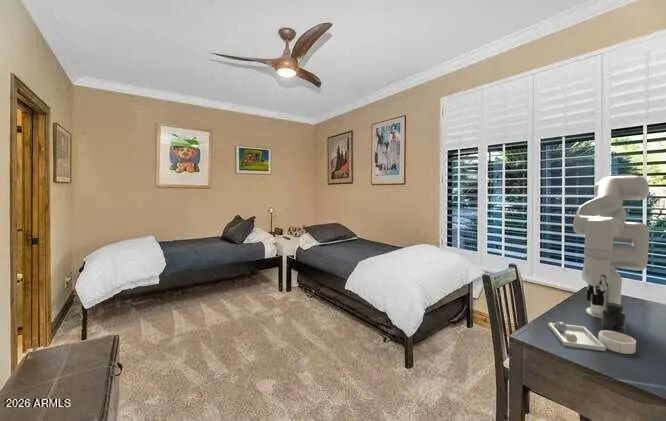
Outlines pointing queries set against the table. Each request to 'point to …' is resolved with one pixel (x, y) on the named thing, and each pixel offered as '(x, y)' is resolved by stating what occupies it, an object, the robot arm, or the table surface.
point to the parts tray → (578, 337)
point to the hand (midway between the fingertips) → (595, 302)
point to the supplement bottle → (613, 318)
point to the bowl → (617, 341)
